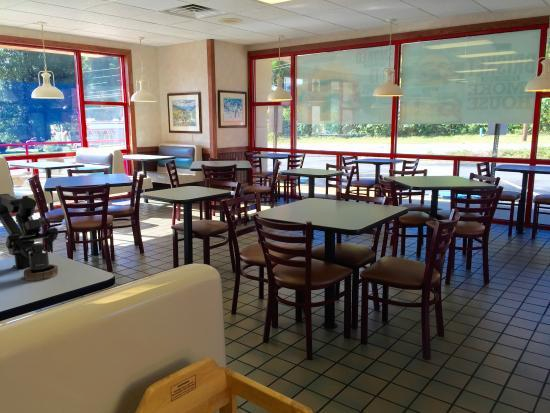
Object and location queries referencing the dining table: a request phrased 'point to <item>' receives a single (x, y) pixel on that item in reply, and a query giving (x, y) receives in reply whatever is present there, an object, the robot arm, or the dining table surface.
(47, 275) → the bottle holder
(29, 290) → the dining table surface
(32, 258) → the supplement bottle
